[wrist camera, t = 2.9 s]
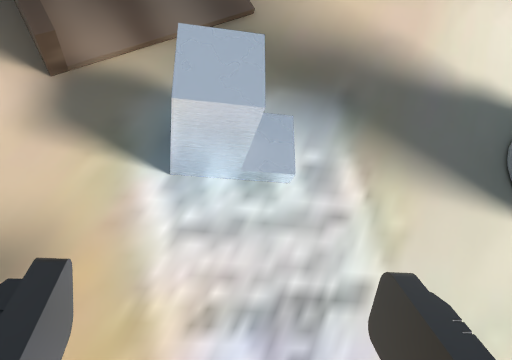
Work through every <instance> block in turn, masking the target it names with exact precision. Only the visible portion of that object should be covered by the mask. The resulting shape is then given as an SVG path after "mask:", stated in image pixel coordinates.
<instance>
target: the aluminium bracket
mask: <svg viewBox="0 0 512 360" xmlns="http://www.w3.org/2000/svg"><path fill="white" fill-rule="evenodd" d="M264 110H265V34H257V33H250V32H242V31H235V30H227V29H220V28H213V27H205V26H198V25H190V24H183V23H178V31H177V42H176V54H175V65H174V76H173V88H172V103H171V152H170V174H171V175H184V176H198V177H212V178H225V179H239V180H253V181H266V182H280V183H290V182H291V180H292V179H293V177H294V176H295V150H294V125H293V116H288V115H278V114H269V113H264Z"/></svg>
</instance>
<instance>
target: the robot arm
mask: <svg viewBox="0 0 512 360" xmlns="http://www.w3.org/2000/svg"><path fill="white" fill-rule="evenodd" d="M507 161H508V170H509V174H510V178H511V181H512V142H511V144H510V146H509V150H508V155H507ZM461 320H462V319H461V318H460V317H459V316H458V315H457V313H456V312H455V311H454V310H453V309H452V307H451V306H450V305H449V304H447V303H446V302H445V301H443V300H442V299H440V298H439V297H438V296H436V295H435V294H433V293H432V292H429V291H428V290H427V289H426V287H425V286H424V285H423V284H422V282H421V281H420V280H419V279H418V277H417V276H416V275H414V274H413V273H394V272H386V273H384V274H383V275H382V276H381V278H380V281H379V285H378V288H377V292H376V295H375V299H374V302H373V306H372V309H371V313H370V316H369V321H368V330H369V336H370V339H371V342H372V344H373V346H374V348H375V350H376V352H377V354H378V355H379V357H380V359H381V360H496V359H495V358H494V357H493V356H492V355H491V354H490V352H489V351H488V350H487V349H486V348H485V346H484V345H483V344H482V343H481V342H480V341H479V339H478V338H477V337H476V336H475V335H474V334H472V331H471V330H470V329H469V328H468V326H467V325H466V324H465V323H464V322H462V321H461ZM72 322H73V279H72V262H71V260H70V259H56V258H36V259H35V260H34V261H33V263H32V264H31V266H30V268H29V269H28V271H27V273H26V274H25V276H24V278H23V279H7V280H5V281H4V282H3V283H1V284H0V360H61V359H62V356H63V354H64V351H65V348H66V345H67V343H68V340H69V337H70V333H71V328H72Z"/></svg>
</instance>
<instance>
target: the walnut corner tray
mask: <svg viewBox="0 0 512 360" xmlns="http://www.w3.org/2000/svg"><path fill="white" fill-rule="evenodd" d="M14 1H15V3H16V5H17V7H18V9H19V11H20V13H21V15H22V17H23V19H24V22H25V24H26V26H27V28H28V30H29V32H30V34H31V36H32V38H33V40H34V42H35V44H36V46H37V49H38V51H39V53H40V55H41V57H42V59H43V61H44V63H45V65H46V67H47V69H48V71H49V73H50V75H51V76H54V75H57V74H60V73H63V72H66V71H70V70H73V69H76V68H79V67H83V66H86V65H89V64H92V63H95V62H99V61H102V60H105V59H108V58H111V57H115V56H118V55H121V54H124V53H128V52H131V51H134V50H137V49H140V48H144V47H147V46H150V45H153V44H156V43H160V42H163V41H166V40H169V39H173V38H176V37H177V31H178V23H183V24H190V25H198V26H205V27H211V26H214V25H218V24H221V23H224V22H227V21H230V20H234V19H237V18H240V17H243V16H247V15H250V14H253V13H254V10H255V8H254V7H253V5H252V4H251V2H250V1H249V0H14Z"/></svg>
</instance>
